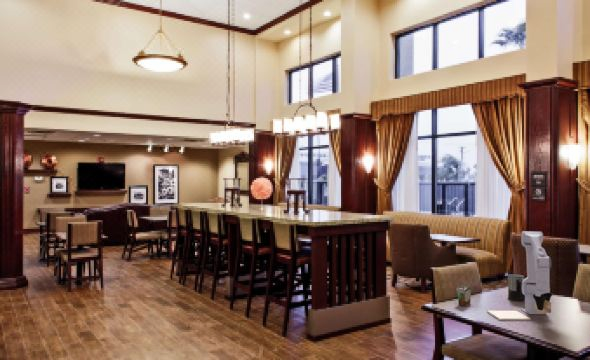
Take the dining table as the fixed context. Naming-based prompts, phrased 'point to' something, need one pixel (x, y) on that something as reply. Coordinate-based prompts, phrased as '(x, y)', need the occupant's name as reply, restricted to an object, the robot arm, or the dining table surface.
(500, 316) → the painted board
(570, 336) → the dining table surface
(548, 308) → the oak cube
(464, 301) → the food container
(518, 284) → the milk frother
